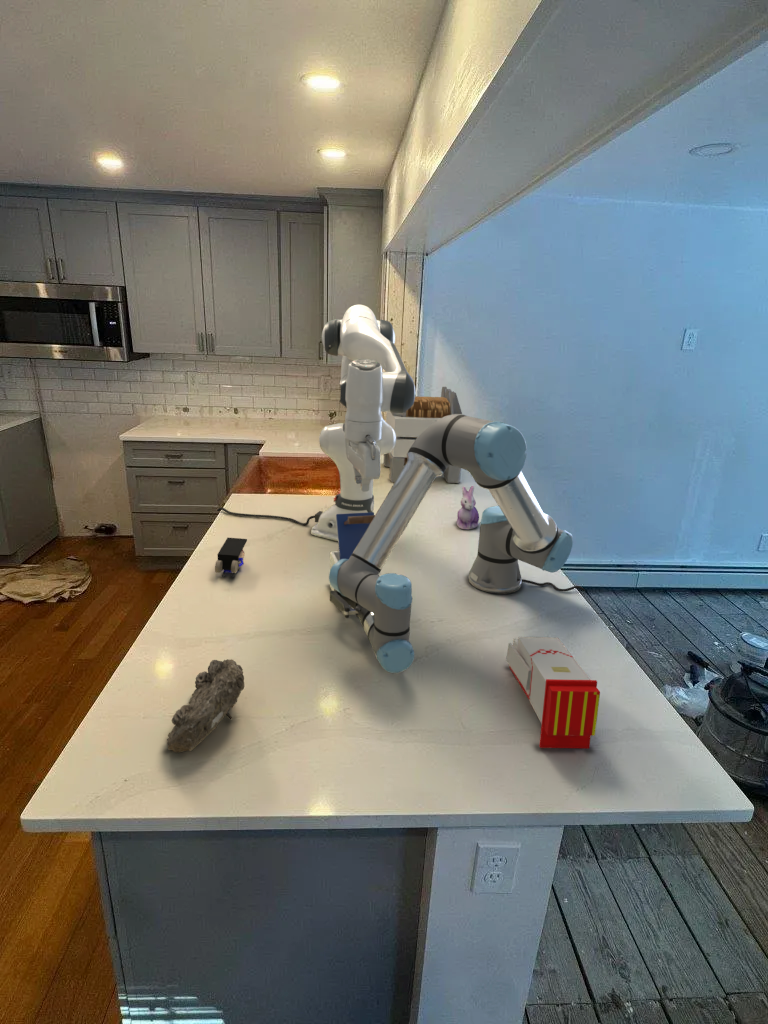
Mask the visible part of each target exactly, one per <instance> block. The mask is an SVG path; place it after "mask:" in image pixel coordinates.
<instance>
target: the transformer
mask: <svg viewBox="0 0 768 1024" xmlns="http://www.w3.org/2000/svg"><path fill="white" fill-rule="evenodd" d="M440 393H441V394H440V396H415V400H414V404H413V405H412V406H411V407H410V408H409V409H408V410H407V411H406V412H404V413H403V414H401V413H392V412H385V414H386V415H385V422H387V423H388V424H389V425H390V426H391V427H392V428H393V429H394V431H395V434H396V444H395V447H394V449H393V450H392V451H391V452H390V453H387V454H383V466H384V467H388V468H389V475H388V476H389V477H388V478H389V480H390V482H391V483H395V481H396V480H397V478H398V476H399V474H400V473H401V471H402V469H403V468H404V466H405V464H406V463H407V461H408V459H407V455H406V454H407V453H408V451H409V449H410V448H411V446H412V444H413V443H414V442H415V440H416V439H417V438H418V437H419V435H420V434H421V433H422V432H423V431H424V430H425V429H426V428H427V427H429V426H430V425H431V424H432V423H434V422H435V421H437V420H438V419H440V418H442V417H445V416H448V415H452V414H462V415H463V411H462V408H461V405H460V402H459V398H458V395H457V392H455V391H453V390H452V389H451V388H447V386H442V387H441V392H440ZM461 472H462V468H458V467H455V466H452V465H450V466H449V467H447V468H446V470H445V471H444V473H443V475H442V476H443V478H444V479H445V481H446V482H447V483H449V484H455V483H456V484H459V483H461Z"/></svg>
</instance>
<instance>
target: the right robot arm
mask: <svg viewBox="0 0 768 1024" xmlns="http://www.w3.org/2000/svg"><path fill="white" fill-rule="evenodd" d="M527 449H528V446H527V442H526V439H525V436H524V435H523V433H522V432H521V430H519V429H518V428H517V427H515V426H513V425H510V424H507V423H505V422H502V421H494V420H489V419H484V418H479V417H473V416H469V415H465V414H463V413H462V414H452V415H448V416H445V417H442V418H440V419H438V420H437V421H435V422H434V423H432V424H431V425H430V426H429V427H427V428H426V429H425V430H424V431H423V432H422V433H421V434H420V435H419V437H418V438H417V439H416V440H415V442H414V443H413V444H412V446H411V448H410V449H409V451H408V453H407V454H406V455H407V459H408V461H407V463H406V464H405V465H404V468H403V469H402V471H401V473H400V474H399V476H398V478H397V480H396V481H395V482H393V485H392V486H391V488H390V490H389V491H388V493H387V495H386V496H385V498H384V500H383V501H382V503H381V504H380V506H379V508H378V509H377V511H376V513H375V514H374V515H375V516H374V518H373V520H372V521H371V523H370V525H369V526H368V528H367V530H366V531H365V533H364V535H363V536H362V538H361V540H360V541H359V543H358V545H357V546H356V548H355V550H354V551H353V553H352V555H351V556H350V558H349V559H341V560H339V561H338V562H337V563H335V564H334V565H333V566H332V568H331V570H330V569H329V573H328V582H329V585H330V584H331V586H332V587H333V588H334V591H332V590H330V591H329V602H330V603H332V605H334V607H336V609H337V610H338V611H340V612H341V613H342V615H343V617H344V619H349V618H350V616H352V615H354V616H356V617H357V618H358V619H359V622H360V625H361V626H362V628H363V630H364V632H365V634H366V637H367V639H368V641H369V643H370V645H371V647H372V650H373V652H374V655H375V658H376V660H377V661H378V663H379V665H380V666H381V668H382V669H383V670H384V671H386V672H388V673H391V674H398V673H402V672H404V671H406V670H408V669H409V668H410V667H411V665H412V664H413V663H414V660H415V651H414V647H413V645H412V643H411V642H410V633H411V632H410V631H411V616H412V614H411V613H412V603H413V586H412V582H411V580H410V579H409V577H408V576H405V575H403V574H398V573H394V572H390V573H389V572H388V573H384V574H381V575H380V573H381V571H382V569H383V568H384V566H385V564H386V562H387V561H388V559H389V557H390V556H391V554H392V552H393V551H394V549H395V547H396V546H397V544H398V542H399V541H400V539H401V537H402V535H403V534H404V532H405V531H406V528H408V525H409V524H410V522H411V520H412V519H413V517H414V515H415V513H416V511H417V510H418V508H419V507H420V505H421V504H422V501H423V500H424V498H425V497H426V495H427V493H428V491H429V490H430V488H431V486H432V484H434V481H435V480H436V478H438V477H442V476H443V475H444V474H443V473H444V471H445V470H446V468H447V467H449V466H450V465H452V466H455V467H458V468H461V470H462V469H463V470H465V471H467V472H468V473H469V474H470V476H471V477H472V478H473V480H474V482H475V483H476V484H477V485H478V486H479V487H480V488H482V489H485V490H488V491H489V493H490V495H491V496H492V498H493V499H494V501H495V503H496V504H497V505H494V506H489V507H486V508H485V509H484V510H483V511H482V514H481V519H480V522H479V535H478V536H479V537H478V546H477V554H476V557H475V559H474V562H473V564H472V565H471V568H470V570H469V572H468V583H470V585H471V586H472V587H474V588H475V589H477V590H480V591H483V592H486V593H490V594H496V595H505V594H506V595H507V594H512V593H515V592H517V591H519V590H520V589H521V586H522V583H527V584H530V585H534V586H538V587H543V586H550V587H552V588H553V589H554V590H556V591H558V592H562V593H563V592H564V593H565V592H569V591H572V590H575V589H578V590H581V591H582V592H586V589H584V588H583V587H582V586H581V585H574V586H571V587H567V588H559V587H557V586H556V585H555V584H554V583H552V582H549V581H547V582H543V583H541V582H535V581H532V580H528V579H524V578H522V575H521V570H520V565H519V561H520V562H523V563H526V564H528V565H531V566H533V567H535V568H537V569H541V570H542V571H543V572H548V573H557V572H558V571H560V570H561V569H562V568H563V567H564V565H565V564H566V562H567V561H568V559H569V557H570V555H571V552H572V549H573V545H574V537H573V535H572V533H571V532H569V531H567V530H566V529H564V530H563V529H561V528H559V527H558V525H557V523H556V521H555V520H554V519H553V517H552V516H551V515H549V514H547V513H545V512H543V509H542V508H541V506H540V504H539V502H538V500H537V498H536V495H534V493H533V491H532V489H531V487H530V484H529V483H528V481H527V479H526V478H525V476H524V474H523V472H522V470H523V469H524V467H525V464H526V460H527V453H526V451H527ZM574 588H575V589H574ZM351 607H352V608H351ZM353 608H354V609H353Z"/></svg>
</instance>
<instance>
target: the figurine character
mask: <svg viewBox="0 0 768 1024" xmlns="http://www.w3.org/2000/svg"><path fill="white" fill-rule="evenodd" d="M247 542H248V538H240V537H226V539H225V541H224V543H223V544H222V546H221V547H220V549H219V551H218V552H217V560H216V562H215V564H214V572H215V573H221V577H222V578H224V577H225V576H226V574H227V573H230V574H231V573H232V574H231V578H234V577H235V575H236V573H237V572H239V571H240V567H242V566H243V565H244V564H245V562H244V558H245V551H244V547H245V546H246V544H247Z"/></svg>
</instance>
